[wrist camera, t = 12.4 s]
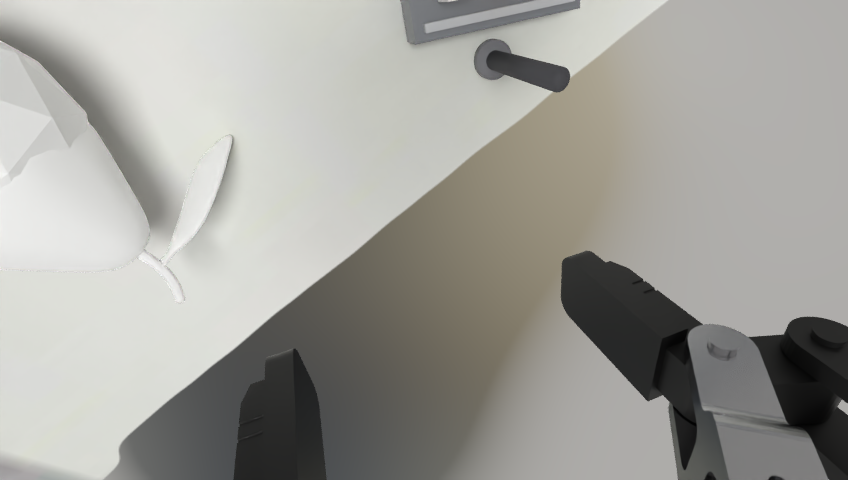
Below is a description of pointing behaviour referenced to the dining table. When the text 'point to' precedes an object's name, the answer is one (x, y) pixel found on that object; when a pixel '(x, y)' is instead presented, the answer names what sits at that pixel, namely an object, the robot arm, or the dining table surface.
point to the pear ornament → (77, 185)
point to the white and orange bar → (445, 0)
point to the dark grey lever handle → (518, 67)
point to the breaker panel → (471, 15)
